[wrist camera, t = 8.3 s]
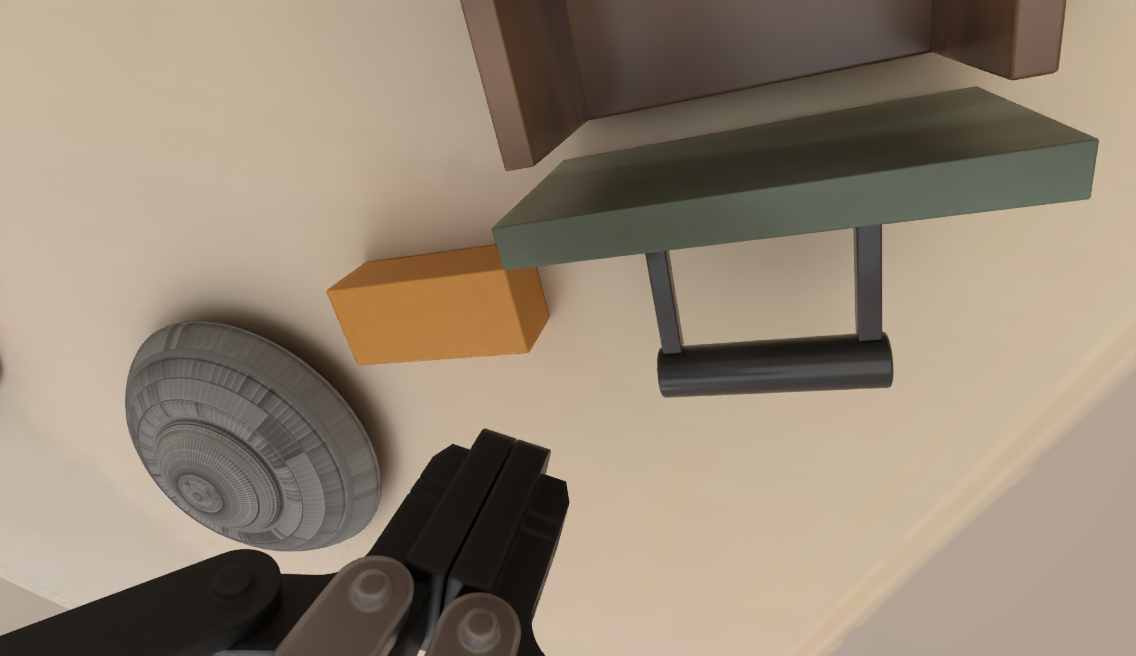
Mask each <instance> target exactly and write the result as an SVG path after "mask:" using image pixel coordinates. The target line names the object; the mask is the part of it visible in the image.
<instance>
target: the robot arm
mask: <svg viewBox="0 0 1136 656" xmlns="http://www.w3.org/2000/svg"><path fill="white" fill-rule="evenodd" d="M550 453H551V450H550V449H547V448H544V447H541V446H538V445H534V444H531V443H528V442H525V441H522V440H518V441H517V439H516V438H513V437H510V436H507V435H504V434H500V433H497V432H494V431H491V430H488V429H485V428H484V429H483V430H482V431H481V433H480V434H479V436H478V437H477V439H476V441H475V442H474V444H473V446H472V448H471V449H470V450H469V449H466V448H463V447H460V446H457V445H454V444H452V445H450V446H449V447H447V448H446V449H444V450H443V451H441V452H439V453H438V454H436V455H435V456H433V457H432V459H431V460H430V462H429V463H428V465H427V466H426V468H425V469H424V471H423V472H422V474H421V476H420V478H419V479H418V480H417V481H416V483H415V484H414V486H413V487H412V489H411V491H410V494H408V495H407V496H406V498H405V499H404V501H403V502H402V504H401V505H400V507H399V508H398V510H397V511H396V513H395V514H394V516H393V517H392V519H391V520H390V522H389V523H388V525H387V526H386V528H385V529H384V531H383V532H382V534H381V535H380V537H379V538H378V540H377V541H376V543H375V544H374V546H373V547H372V549H371V550H370V551H369V553H368V554H367V555H366V556H365V557H362V558H359V559H357V560H354V561H352V562H350V563H349V564H347V565H346V566H344V567H343V568H342V569H341V570H340V571H339V572H336V573H332V574H325V575H303V574H280V570H279V566H278V565H277V563H276V561H275V560H274V559H273V558H272V557H271V556H269V555H268V554H266V553H263V552H261V551H257V550H251V549H239V550H233V551H229V552H226V553H223V554H220V555H217V556H214V557H212V558H209V559H206V560H204V561H201V562H198V563H196V564H193V565H190V566H188V567H185V568H182V569H179V570H177V571H174V572H171V573H169V574H166V575H163V576H161V577H158V578H155V579H152V580H150V581H147V582H144V583H142V584H139V585H136V586H134V587H131V588H128V589H125V590H123V591H120V592H117V593H115V594H112V595H109V596H107V597H104V598H101V599H98V600H96V601H93V602H90V603H88V604H85V605H82V606H80V607H77V608H74V609H71V610H69V611H66V612H64V613H61V614H58V615H55V616H53V617H50V618H47V619H45V620H42V621H39V622H36V623H34V624H31V625H29V626H26V627H23V628H20V629H18V630H15V631H12V632H10V633H7V634H4V635H1V636H0V656H417V654H418V652H419V650H420V649H421V650H423V651H426V653H425V656H545V655H544V653H543V652H542V651H541V649H540V648H539V646H538V644H537V642H536V640H535V637H534V634H533V630H532V621H533V618H534V615H535V612H536V609H537V606H538V603H539V600H540V597H541V594H542V591H543V588H544V585H545V582H546V579H547V576H548V573H549V570H550V567H551V564H552V561H553V558H554V556H555V553H556V550H557V546H558V542H559V539H560V535H561V531H562V528H563V524H564V521H565V517H566V513H567V510H568V506H569V497H568V491H567V484H566V481H563V480H560V479H557V478H554V477H551V476H548V475H546V470H547V466H548V462H549V458H550Z"/></svg>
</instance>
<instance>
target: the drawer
mask: <svg viewBox="0 0 1136 656" xmlns="http://www.w3.org/2000/svg"><path fill="white" fill-rule="evenodd" d="M460 1H461V5H462V9H463V13H464V16H465V20H466V24H467V28H468V31H469V35H470V39H471V43H472V47H473V50H474V54H475V58H476V62H477V65H478V69H479V73H480V77H481V80H482V84H483V88H484V92H485V95H486V99H487V103H488V107H489V110H490V114H491V118H492V122H493V125H494V129H495V133H496V137H497V140H498V144H499V148H500V152H501V155H502V159H503V163H504V167H505V170H506V171H510V170H516V169H521V168H527V167H533V166H535V165H536V164H537V163H538V162H539V161H541V160H542V159H543V158H544V157H545V156H546V155H548V154H549V153H550V152H551V151H552V150H554V149H555V148H556V147H557V146H558V145H560V144H561V143H562V142H563V141H564V140H566V139H567V138H568V137H569V136H570V135H571V134H573V133H574V132H575V131H576V130H577V129H579V128H580V127H581V126H582V125H583V124H585V123H586V122H587V121H588V120H593V119H598V118H603V117H608V116H613V115H618V114H623V113H628V112H634V111H639V110H644V109H649V108H654V107H659V106H664V105H669V104H674V103H679V102H684V101H689V100H694V99H699V98H704V97H709V96H714V95H719V94H724V93H729V92H734V91H739V90H744V89H749V88H754V87H759V86H764V85H769V84H774V83H780V82H785V81H790V80H795V79H800V78H805V77H810V76H815V75H820V74H825V73H830V72H835V71H840V70H845V69H850V68H855V67H860V66H865V65H870V64H875V63H880V62H885V61H890V60H895V59H900V58H905V57H910V56H915V55H920V54H926V53H931V52H933V53H936V54H938V55H941V56H944V57H947V58H950V59H953V60H955V61H958V62H961V63H964V64H967V65H970V66H972V67H975V68H978V69H981V70H984V71H986V72H989V73H992V74H995V75H998V76H1001V77H1003V78H1006V79H1009V80H1018V79H1024V78H1029V77H1035V76H1040V75H1046V74H1052V73H1054V72H1056V71H1057V70H1058V68H1059V60H1060V51H1061V43H1062V34H1063V25H1064V17H1065V8H1066V0H460ZM1098 143H1099V140H1098V139H1097V138H1095V137H1092V136H1090V135H1088V134H1086V133H1083V132H1081V131H1079V130H1076V129H1074V128H1072V127H1069V126H1067V125H1065V124H1062V123H1060V122H1058V121H1056V120H1053V119H1051V118H1049V117H1046V116H1044V115H1042V114H1039V113H1037V112H1035V111H1032V110H1030V109H1028V108H1026V107H1023V106H1021V105H1019V104H1016V103H1014V102H1012V101H1009V100H1007V99H1005V98H1002V97H1000V96H998V95H996V94H993V93H991V92H989V91H986V90H984V89H982V88H979V87H977V86H976V87H970V88H964V89H959V90H953V91H948V92H942V93H937V94H931V95H925V96H920V97H914V98H909V99H903V100H897V101H892V102H886V103H881V104H875V105H870V106H864V107H858V108H853V109H847V110H842V111H836V112H831V113H825V114H819V115H814V116H808V117H803V118H797V119H791V120H786V121H780V122H775V123H769V124H764V125H758V126H752V127H747V128H741V129H736V130H730V131H724V132H719V133H713V134H708V135H702V136H697V137H691V138H685V139H680V140H674V141H669V142H663V143H657V144H652V145H646V146H641V147H635V148H630V149H624V150H618V151H613V152H607V153H602V154H596V155H590V156H585V157H579V158H574V159H568V160H564V161H563V162H561V163H560V164H559V165H558V166H557V167H556V168H555V169H554V170H553V171H552V172H551V173H550V174H549V175H548V176H547V177H546V178H545V179H544V180H542V181H541V182H540V183H539V184H538V185H537V186H536V187H535V188H534V189H533V190H532V191H531V192H530V193H529V194H528V195H527V196H526V197H525V198H523V199H522V200H521V201H520V202H519V203H518V204H517V205H516V206H515V207H514V208H513V209H512V210H511V211H510V212H509V213H508V214H507V215H506V216H504V217H503V218H502V219H501V220H500V221H499V222H498V223H497V224H496V225H495V226H494V227H493V228H492V231H493V235H494V238H495V242H496V245H497V248H498V252H499V255H500V259H501V262H502V266H503V269H504V270H511V269H519V268H528V267H536V266H544V265H552V264H560V263H569V262H577V261H585V260H593V259H601V258H610V257H618V256H626V255H634V254H642V253H645V255H646V260H647V266H648V272H649V277H650V283H651V288H652V294H653V300H654V305H655V311H656V316H657V322H658V328H659V333H660V339H661V344H662V348H660V349H659V352H658V358H657V373H658V382H659V387H660V391H661V394H662V396H663V397H665V398H668V397H691V396H713V395H736V394H759V393H781V392H804V391H826V390H849V389H872V388H889V387H891V386H892V382H893V357H892V350H891V345H890V341H889V338H888V336H887V334H886V333H885V332H882V224H889V223H897V222H905V221H913V220H922V219H930V218H938V217H946V216H954V215H963V214H971V213H979V212H987V211H995V210H1004V209H1012V208H1020V207H1028V206H1037V205H1045V204H1053V203H1061V202H1069V201H1078V200H1086V199H1090V197H1091V190H1092V183H1093V176H1094V170H1095V163H1096V156H1097V149H1098ZM848 228H853V231H854V276H855V321H856V334H843V335H829V336H815V337H801V338H787V339H773V340H758V341H744V342H730V343H716V344H702V345H688V346H683V344H684V342H683V336H682V330H681V324H680V317H679V311H678V305H677V299H676V293H675V286H674V280H673V274H672V268H671V261H670V255H669V250H675V249H684V248H692V247H700V246H708V245H716V244H725V243H733V242H741V241H749V240H757V239H766V238H774V237H782V236H790V235H798V234H807V233H815V232H823V231H831V230H840V229H848Z"/></svg>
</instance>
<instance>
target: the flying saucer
mask: <svg viewBox="0 0 1136 656" xmlns="http://www.w3.org/2000/svg"><path fill="white" fill-rule="evenodd" d="M125 408H126V419H127V425H128V429H129V433H130V436H131V439H132V441H133V444H134V446H135V449H136V451H137V453H138V455H139V457H140V459H141V461H142V463H143V464H144V466H145V468H146V469H147V471H148V473H149V474H150V476H151V477H152V479H153V480H154V481H155V483H156V484H157V485H158V486H159V488H160V489H161V490H162V491H163V492H164V493H165V495H166V496H167V497H168V498H169V499H170V500H171V501H172V502H173V503H174V504H175V505H177V506H178V507H179V508H180V509H181V510H182V511H184V512H185V513H186V514H187V515H189V516H190V517H191V518H193V519H194V520H196V521H197V522H199V523H200V524H202V525H204V526H205V527H207V528H209V529H210V530H212V531H214V532H216V533H218V534H220V535H223V536H225V537H227V538H230V539H232V540H235V541H238V542H240V543H244V544H247V545H250V546H254V547H258V548H262V549H267V550H274V551H307V550H314V549H319V548H324V547H328V546H331V545H335V544H337V543H340V542H342V541H345V540H347V539H349V538H351V537H353V536H355V535H356V534H358V533H359V532H360V531H362V530H363V529H364V528H365V527H366V526H367V525H368V523H369V522H370V521H371V519H372V518H373V516H374V514H375V512H376V510H377V507H378V504H379V500H380V494H381V477H380V469H379V464H378V460H377V457H376V454H375V451H374V448H373V445H372V443H371V441H370V438H369V436H368V434H367V432H366V430H365V429H364V427H363V425H362V423H361V422H360V420H359V418H358V417H357V415H356V414H355V412H354V411H353V410H352V408H351V407H350V406H349V404H348V403H347V402H346V400H345V399H344V398H343V397H342V396H341V394H340V393H339V392H338V391H337V390H336V389H335V388H334V387H333V386H332V385H331V384H330V383H329V382H328V381H327V380H326V379H325V378H324V377H323V376H322V375H321V374H320V373H318V372H317V371H316V370H315V369H314V368H312V367H311V366H310V365H309V364H307V363H306V362H305V361H303V360H302V359H301V358H299V357H298V356H296V355H295V354H293V353H292V352H290V351H288V350H287V349H285V348H284V347H282V346H280V345H278V344H276V343H275V342H273V341H271V340H269V339H267V338H264V337H262V336H260V335H258V334H255V333H253V332H250V331H247V330H244V329H241V328H238V327H234V326H230V325H226V324H221V323H215V322H205V321H192V322H182V323H177V324H173V325H170V326H167V327H165V328H163V329H160V330H159V331H157V332H155V333H154V334H152V335H151V336H150V337H149V338H148V339H147V340H146V341H145V342H144V343H143V344H142V345H141V347H140V348H139V350H138V352H137V354H136V356H135V358H134V360H133V362H132V365H131V367H130V371H129V375H128V379H127V385H126V394H125Z"/></svg>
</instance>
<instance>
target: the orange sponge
mask: <svg viewBox="0 0 1136 656" xmlns="http://www.w3.org/2000/svg"><path fill="white" fill-rule="evenodd" d="M327 294H328V297H329V299H330V301H331V304H332V306H333V308H334V311H335V313H336V315H337V318H338V320H339V322H340V325H341V327H342V329H343V332H344V334H345V336H346V339H347V341H348V343H349V346H350V348H351V350H352V353H353V355H354V357H355V360H356V362H357V364H358V365H370V364H384V363H398V362H411V361H425V360H439V359H452V358H466V357H480V356H493V355H507V354H521V353H528V352H530V350H531V348H532V347H533V345H534V343H535V342H536V340H537V338H538V336H539V335H540V333H541V331H542V330H543V328H544V326H545V325H546V323H547V321H548V320H549V315H548V311H547V307H546V303H545V299H544V295H543V292H542V288H541V284H540V280H539V276H538V273H537V269H536V267H528V268H519V269H511V270H504V269H503V266H502V262H501V259H500V255H499V252H498V248H497V245H491V246H484V247H477V248H469V249H462V250H455V251H448V252H440V253H433V254H426V255H418V256H411V257H404V258H396V259H389V260H382V261H375V262H367V263H364V264H362V265H361V266H360V267H358V268H357V269H356V270H354V271H353V272H351V273H350V274H349V275H347V276H346V277H344V278H343V279H342V280H340V281H339V282H338V283H336V284H335V285H333V286H332V287H331V288H329V289H328V290H327Z"/></svg>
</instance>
